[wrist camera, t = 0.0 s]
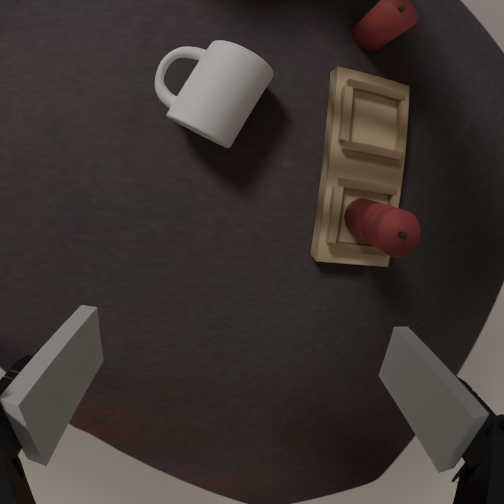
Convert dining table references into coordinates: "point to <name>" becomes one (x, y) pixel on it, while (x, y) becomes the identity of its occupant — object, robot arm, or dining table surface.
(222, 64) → the mug
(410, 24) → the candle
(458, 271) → the dining table surface
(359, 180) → the oak candlestand
